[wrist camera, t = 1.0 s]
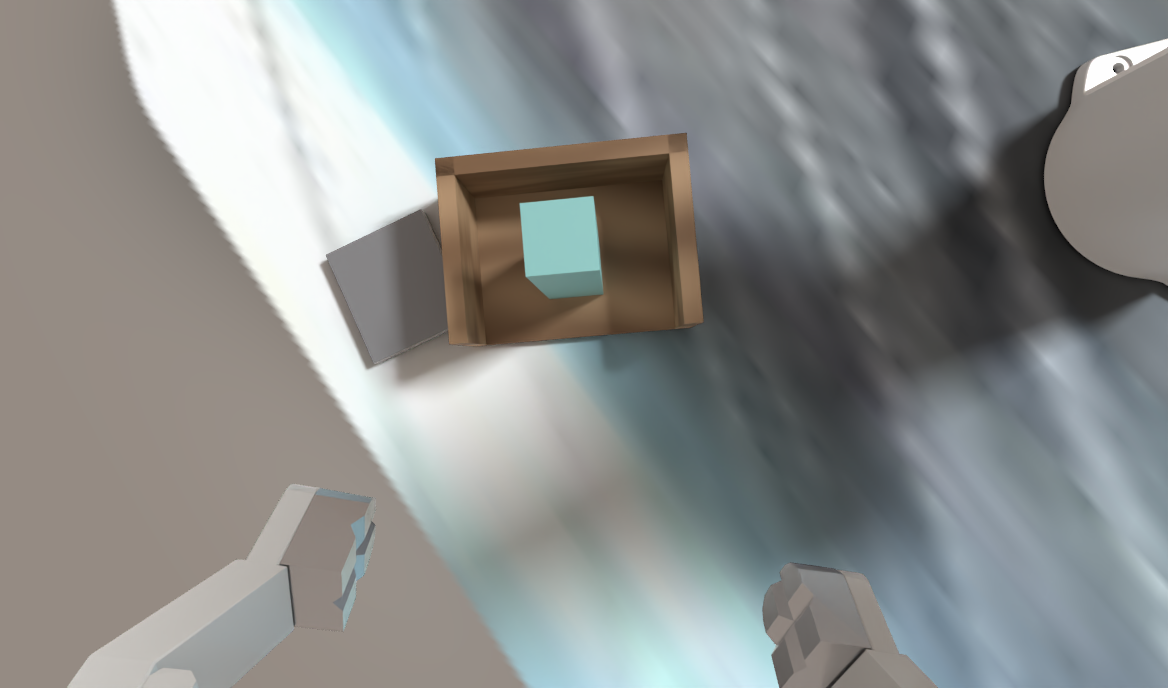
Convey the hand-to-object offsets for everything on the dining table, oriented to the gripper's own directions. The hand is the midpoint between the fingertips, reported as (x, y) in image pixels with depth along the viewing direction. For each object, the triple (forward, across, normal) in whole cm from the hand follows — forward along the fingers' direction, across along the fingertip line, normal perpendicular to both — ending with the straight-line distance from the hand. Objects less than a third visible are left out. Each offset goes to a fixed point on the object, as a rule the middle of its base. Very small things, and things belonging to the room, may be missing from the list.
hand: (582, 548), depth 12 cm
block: (+32, -1, +11) cm, 34 cm away
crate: (+33, -1, +11) cm, 34 cm away
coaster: (+32, +12, +15) cm, 37 cm away
